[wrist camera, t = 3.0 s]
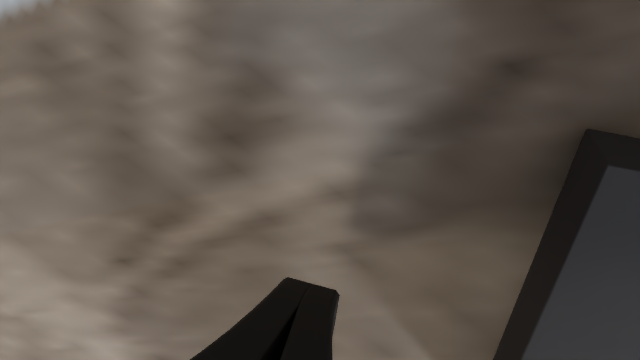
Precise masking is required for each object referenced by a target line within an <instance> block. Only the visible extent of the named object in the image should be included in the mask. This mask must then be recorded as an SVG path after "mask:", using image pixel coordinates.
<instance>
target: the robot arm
mask: <svg viewBox="0 0 640 360" xmlns="http://www.w3.org/2000/svg"><path fill="white" fill-rule="evenodd" d="M339 296H340V295H339V294H338V292H337V291H336V290H333V289H330V288H326V287H322V286H319V285H315V284H311V283H307V282H304V281H300V280H296V279H293V278H289V277H287V278H285V279H283V280H282V281H281V282H280V283H279V284H278V286H277V287H276V288H275V289H274V290H273V291H272V292H271V293H270V294H269V295H268V296H267V297H265V298H264V299H263V300H262V301H261V302H260V303H259V304H258V305H257V306H256V307H255V308H254V309H253V310H252V311H250V312H249V313H248V314H247V315H246V316H245V317H243V318H242V319H241V320H240V321H239V322H238V323H237V324H235V325H234V326H233V327H232V328H231V329H230V330H228V331H227V332H226V333H225V334H223V335H222V336H221V337H219V338H218V339H217V340H216V341H214V342H213V343H212V344H210V345H209V346H208V347H206V348H205V349H204V350H203V351H201V352H200V353H198V354H197V355H196V356H194V357H193V358H191V359H190V360H332V336H333V330H334V325H335V319H336V313H337V307H338V301H339Z"/></svg>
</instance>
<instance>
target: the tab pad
mask: <svg viewBox="0 0 640 360" xmlns="http://www.w3.org/2000/svg"><path fill="white" fill-rule="evenodd" d="M493 360H640V139H638V138H632V137H627V136H622V135H617V134H612V133H606V132H601V131H596V130H591V129H587V130H586V131H585V133H584V136H583V138H582V141H581V143H580V146H579V148H578V151H577V153H576V156H575V158H574V160H573V163H572V165H571V168H570V170H569V173H568V175H567V178H566V180H565V183H564V185H563V188H562V190H561V193H560V195H559V198H558V200H557V203H556V205H555V208H554V210H553V213H552V215H551V217H550V220H549V222H548V225H547V227H546V230H545V232H544V235H543V237H542V240H541V242H540V245H539V247H538V250H537V252H536V255H535V257H534V260H533V262H532V265H531V267H530V269H529V272H528V274H527V277H526V279H525V282H524V284H523V287H522V289H521V292H520V294H519V297H518V299H517V302H516V304H515V307H514V309H513V312H512V314H511V317H510V319H509V322H508V324H507V326H506V329H505V331H504V334H503V336H502V339H501V341H500V344H499V346H498V349H497V351H496V354H495V356H494V359H493Z"/></svg>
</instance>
